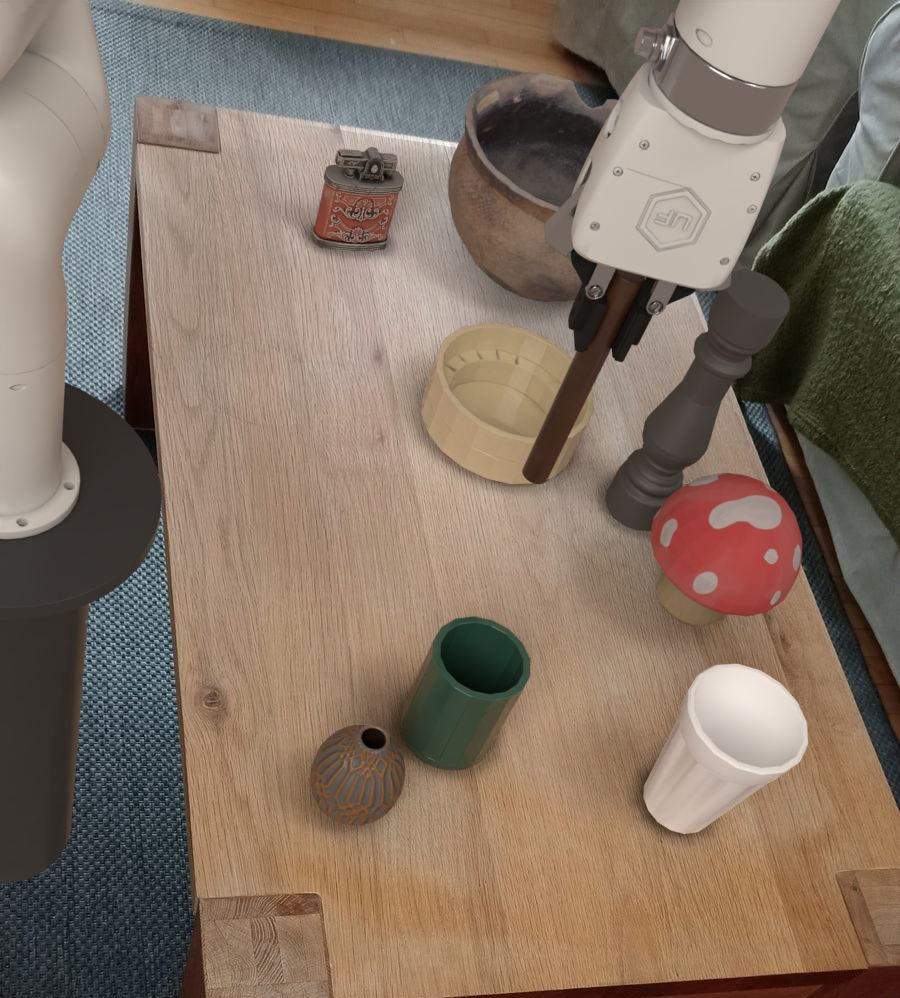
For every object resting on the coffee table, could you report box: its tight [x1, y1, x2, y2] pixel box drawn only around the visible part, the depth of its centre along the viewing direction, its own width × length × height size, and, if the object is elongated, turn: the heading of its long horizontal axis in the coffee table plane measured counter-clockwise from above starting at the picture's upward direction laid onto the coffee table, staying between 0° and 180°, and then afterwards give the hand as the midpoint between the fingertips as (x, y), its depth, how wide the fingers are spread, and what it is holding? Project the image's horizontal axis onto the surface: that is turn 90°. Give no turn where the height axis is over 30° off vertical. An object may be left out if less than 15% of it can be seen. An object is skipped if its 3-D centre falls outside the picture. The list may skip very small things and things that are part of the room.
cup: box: [642, 663, 809, 835], centre depth 103 cm, size 10×10×13 cm
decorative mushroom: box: [649, 472, 803, 627], centre depth 114 cm, size 13×13×15 cm
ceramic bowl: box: [447, 72, 618, 303], centre depth 133 cm, size 22×22×15 cm
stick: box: [522, 269, 645, 485], centre depth 89 cm, size 2×2×18 cm
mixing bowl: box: [420, 322, 595, 485], centre depth 123 cm, size 15×15×6 cm
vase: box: [309, 723, 406, 827], centre depth 96 cm, size 7×7×9 cm
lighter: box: [310, 146, 405, 253], centre depth 129 cm, size 8×3×10 cm, turn 108°
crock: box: [399, 615, 532, 771], centre depth 101 cm, size 8×8×10 cm
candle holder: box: [604, 268, 791, 532], centre depth 115 cm, size 6×6×25 cm
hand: (598, 340), depth 86 cm, fingers closed on stick, 2 cm apart
